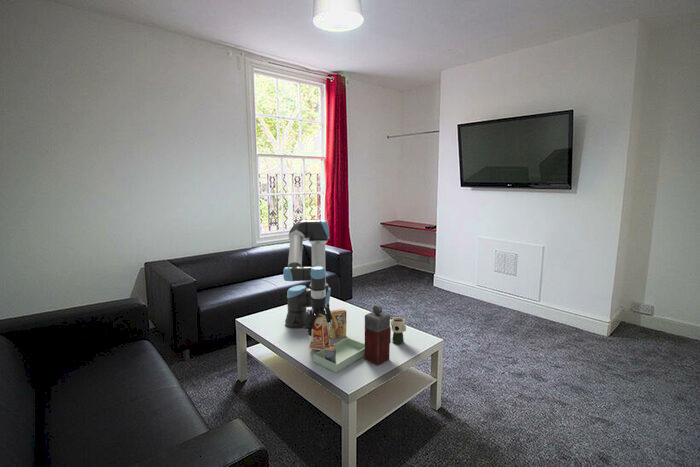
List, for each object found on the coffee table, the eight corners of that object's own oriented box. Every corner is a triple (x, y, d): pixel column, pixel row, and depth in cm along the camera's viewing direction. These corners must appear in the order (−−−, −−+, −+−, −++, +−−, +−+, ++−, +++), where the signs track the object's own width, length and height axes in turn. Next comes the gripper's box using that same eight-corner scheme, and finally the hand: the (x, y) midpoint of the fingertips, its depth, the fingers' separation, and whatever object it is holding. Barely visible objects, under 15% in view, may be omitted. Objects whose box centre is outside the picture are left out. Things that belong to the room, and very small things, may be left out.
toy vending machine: (392, 357, 173) (393, 304, 169) (377, 365, 165) (378, 310, 161) (379, 351, 179) (379, 299, 175) (364, 359, 171) (364, 305, 167)
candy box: (343, 333, 201) (343, 308, 199) (346, 336, 197) (346, 310, 195) (329, 336, 197) (329, 310, 195) (332, 339, 193) (332, 313, 191)
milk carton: (325, 350, 177) (325, 313, 174) (308, 349, 179) (307, 312, 175) (330, 342, 186) (329, 307, 182) (313, 341, 187) (313, 306, 184)
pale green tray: (313, 362, 169) (313, 354, 168) (347, 344, 187) (347, 337, 187) (336, 373, 159) (336, 364, 158) (369, 352, 178) (369, 345, 177)
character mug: (386, 340, 192) (386, 318, 190) (395, 336, 196) (395, 315, 194) (400, 347, 183) (401, 324, 181) (409, 343, 188) (410, 321, 186)
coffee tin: (322, 363, 166) (322, 347, 165) (330, 358, 171) (330, 343, 169) (330, 367, 163) (330, 351, 162) (338, 362, 167) (338, 346, 166)
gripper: (306, 304, 167) (307, 347, 170) (338, 292, 184) (339, 331, 187) (296, 301, 171) (297, 342, 175) (328, 289, 189) (329, 328, 192)
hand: (319, 337), depth 181 cm, fingers closed on milk carton, 10 cm apart
